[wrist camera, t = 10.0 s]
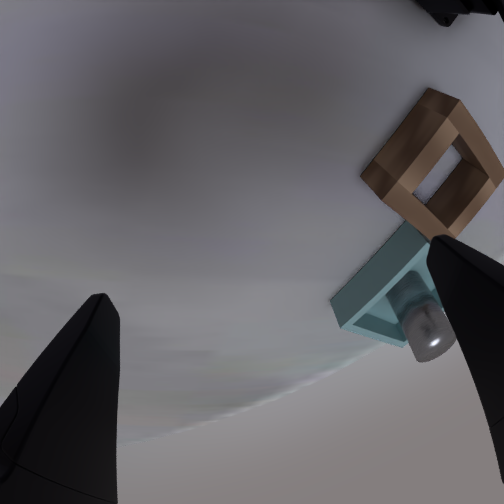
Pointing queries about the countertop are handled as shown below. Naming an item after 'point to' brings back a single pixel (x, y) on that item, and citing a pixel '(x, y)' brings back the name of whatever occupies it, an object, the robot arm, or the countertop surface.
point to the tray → (383, 287)
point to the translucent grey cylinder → (420, 317)
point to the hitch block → (424, 159)
